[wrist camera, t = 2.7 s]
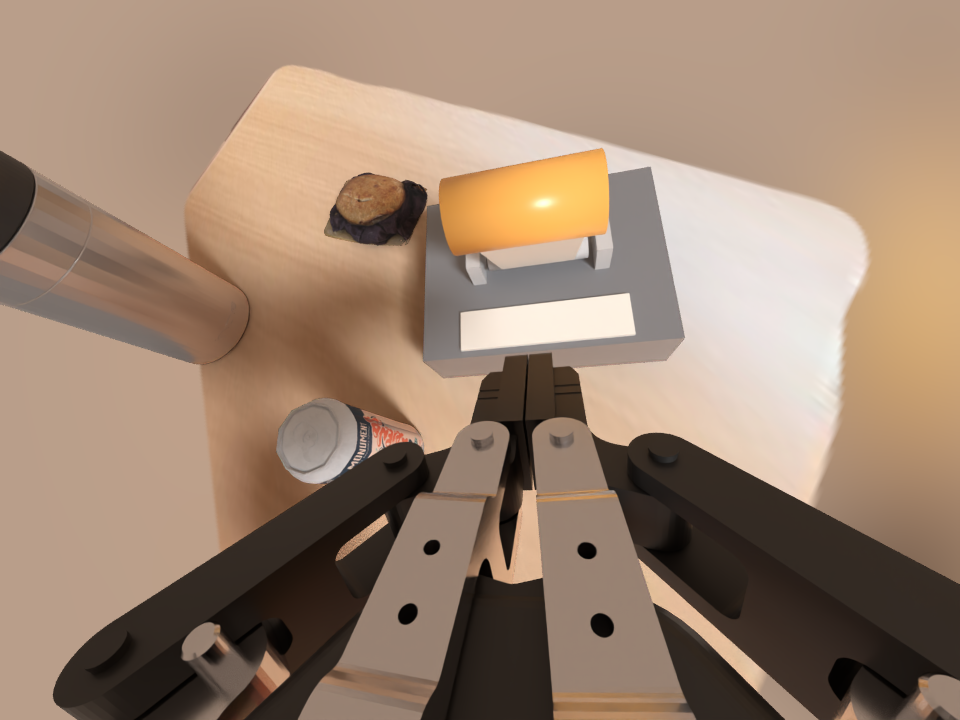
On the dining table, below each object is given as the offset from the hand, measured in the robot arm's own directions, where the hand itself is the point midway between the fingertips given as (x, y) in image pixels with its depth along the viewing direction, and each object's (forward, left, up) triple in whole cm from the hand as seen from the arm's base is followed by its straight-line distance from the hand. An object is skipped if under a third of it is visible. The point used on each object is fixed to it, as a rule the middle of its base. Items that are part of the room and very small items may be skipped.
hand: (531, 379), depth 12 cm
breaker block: (-3, +12, -18) cm, 22 cm away
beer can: (-12, -4, -18) cm, 22 cm away
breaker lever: (-3, +12, -12) cm, 17 cm away
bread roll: (-22, +19, -19) cm, 35 cm away
